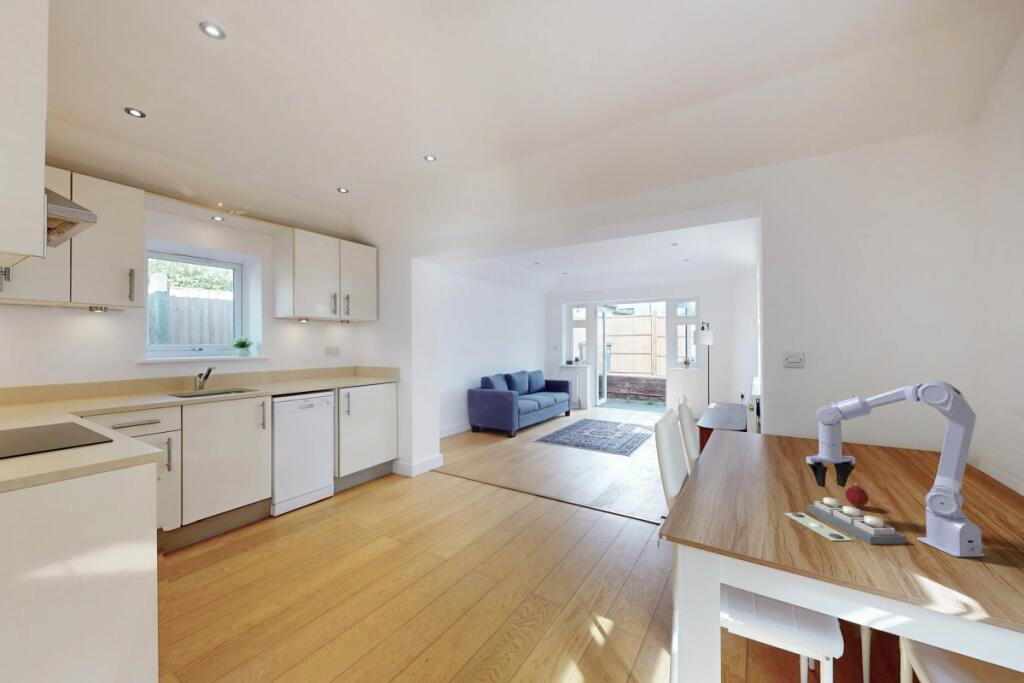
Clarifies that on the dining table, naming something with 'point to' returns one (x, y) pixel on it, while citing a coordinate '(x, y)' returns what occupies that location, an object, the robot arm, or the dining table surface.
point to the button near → (873, 521)
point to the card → (818, 527)
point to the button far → (831, 502)
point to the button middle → (851, 511)
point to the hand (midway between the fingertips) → (831, 486)
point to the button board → (856, 525)
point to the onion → (856, 496)
